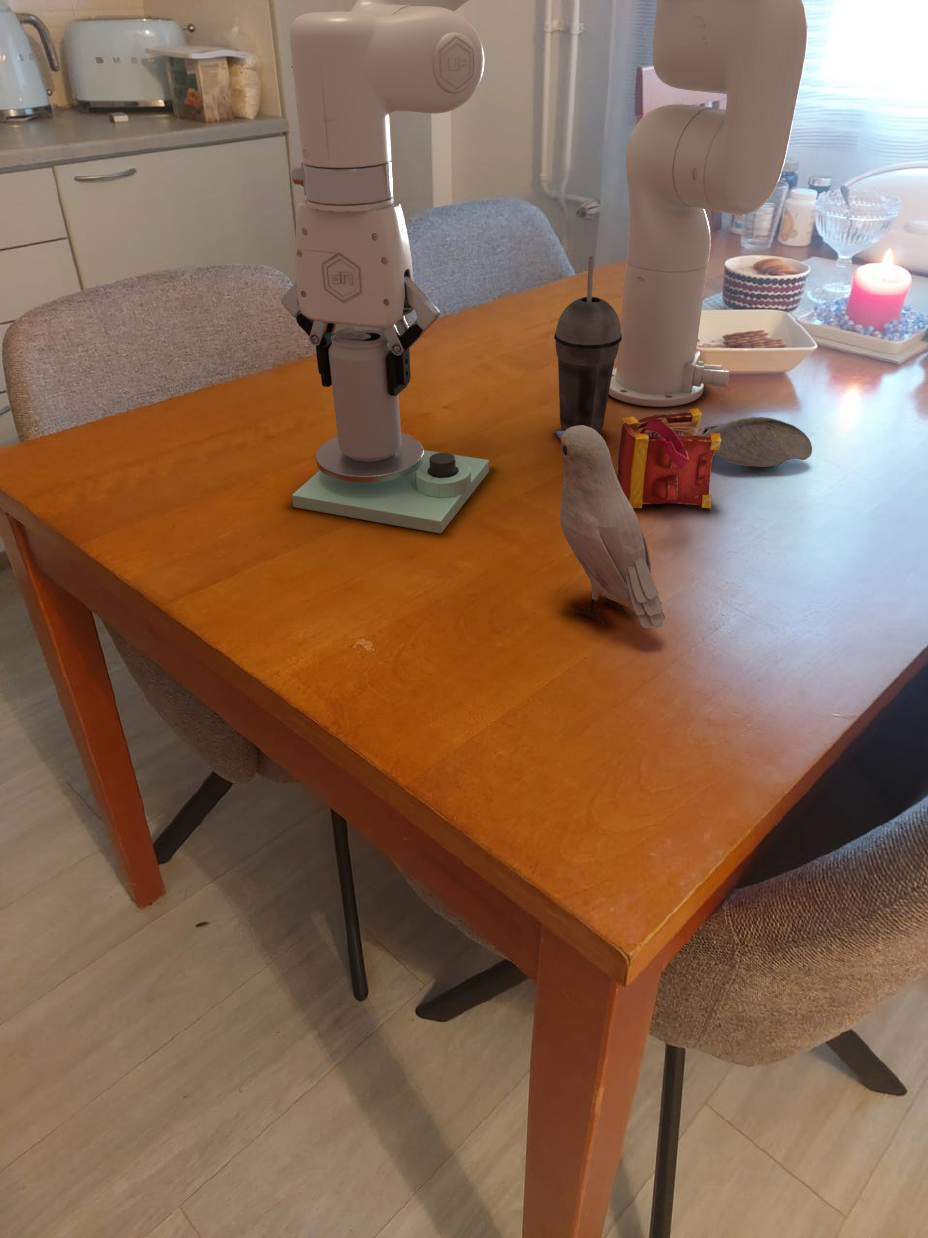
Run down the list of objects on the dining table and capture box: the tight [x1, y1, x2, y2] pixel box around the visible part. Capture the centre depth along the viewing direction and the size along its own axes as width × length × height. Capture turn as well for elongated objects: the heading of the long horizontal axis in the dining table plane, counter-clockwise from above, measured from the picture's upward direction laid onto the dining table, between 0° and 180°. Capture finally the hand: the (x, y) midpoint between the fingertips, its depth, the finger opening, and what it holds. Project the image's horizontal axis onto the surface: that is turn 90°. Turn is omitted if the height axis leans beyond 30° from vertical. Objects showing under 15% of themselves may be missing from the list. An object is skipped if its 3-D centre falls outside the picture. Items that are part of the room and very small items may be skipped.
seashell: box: [700, 416, 813, 468], centre depth 96 cm, size 12×8×5 cm
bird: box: [552, 425, 666, 629], centre depth 70 cm, size 5×14×15 cm, turn 36°
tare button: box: [429, 452, 456, 478], centre depth 89 cm, size 3×3×2 cm
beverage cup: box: [553, 255, 622, 436], centre depth 97 cm, size 7×7×20 cm
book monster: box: [616, 408, 721, 509], centre depth 86 cm, size 11×9×12 cm
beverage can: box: [328, 326, 402, 462], centre depth 88 cm, size 6×6×12 cm
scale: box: [291, 449, 490, 535], centre depth 92 cm, size 16×14×3 cm
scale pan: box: [315, 432, 425, 483], centre depth 91 cm, size 11×11×1 cm
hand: (365, 384), depth 87 cm, fingers closed on beverage can, 6 cm apart
